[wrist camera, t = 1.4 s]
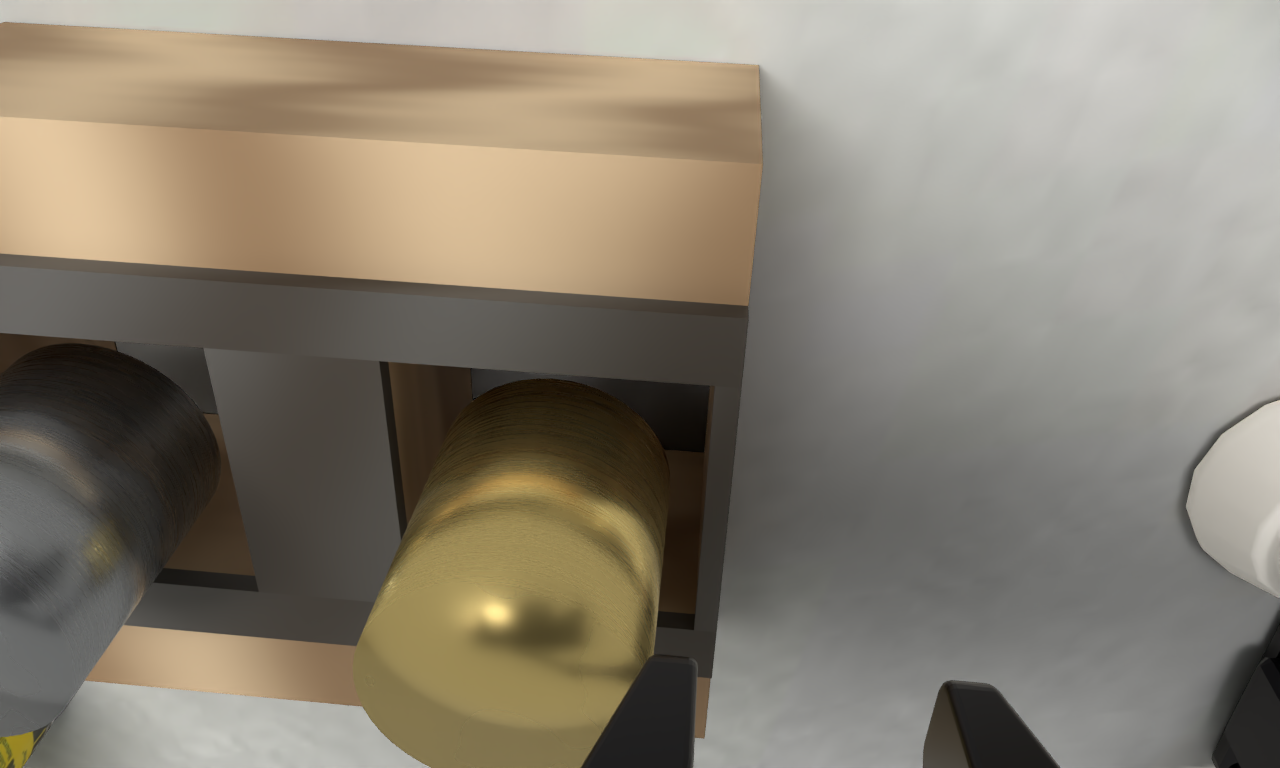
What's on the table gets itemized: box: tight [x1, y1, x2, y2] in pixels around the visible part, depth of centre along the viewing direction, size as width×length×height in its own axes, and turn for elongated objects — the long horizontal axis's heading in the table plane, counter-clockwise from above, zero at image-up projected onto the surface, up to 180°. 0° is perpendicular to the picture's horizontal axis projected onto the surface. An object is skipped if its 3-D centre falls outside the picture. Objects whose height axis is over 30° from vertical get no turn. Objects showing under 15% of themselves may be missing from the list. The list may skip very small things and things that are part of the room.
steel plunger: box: [0, 343, 221, 737], centre depth 16 cm, size 4×4×5 cm
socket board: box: [0, 22, 763, 738], centre depth 20 cm, size 14×12×5 cm
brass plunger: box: [353, 379, 670, 768], centre depth 16 cm, size 4×4×5 cm
